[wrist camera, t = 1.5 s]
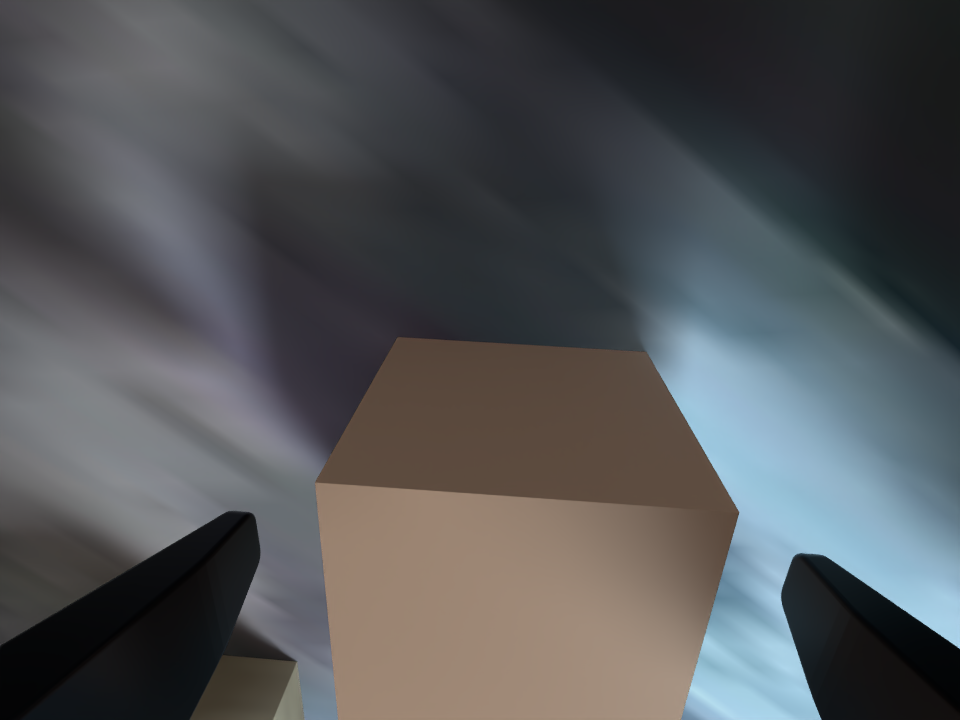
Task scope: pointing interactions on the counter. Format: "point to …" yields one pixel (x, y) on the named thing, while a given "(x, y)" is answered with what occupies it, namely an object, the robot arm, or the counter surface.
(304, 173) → the counter surface
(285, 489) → the counter surface
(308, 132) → the counter surface
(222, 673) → the olive tan squat block
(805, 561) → the robot arm
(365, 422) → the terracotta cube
